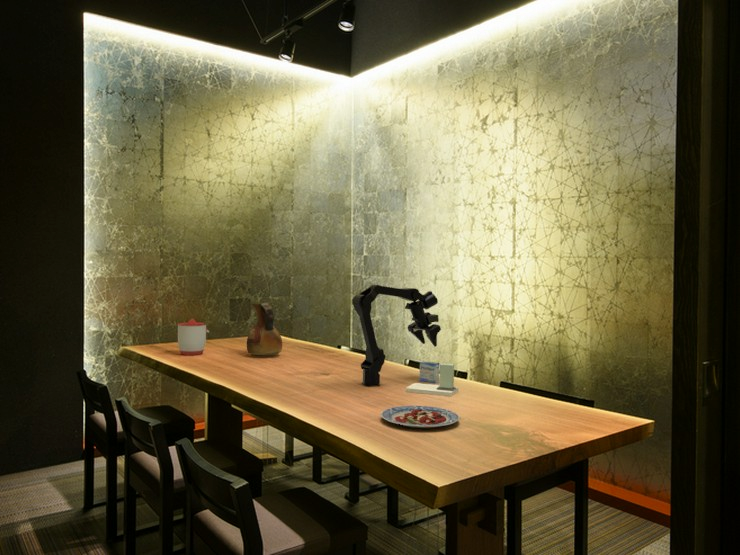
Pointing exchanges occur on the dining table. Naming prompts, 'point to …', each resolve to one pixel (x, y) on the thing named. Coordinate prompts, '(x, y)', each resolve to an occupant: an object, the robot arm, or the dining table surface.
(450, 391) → the ticket base
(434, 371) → the medicine box
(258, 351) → the ceramic pitcher
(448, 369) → the grey green upright block
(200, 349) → the citrus juicer
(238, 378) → the dining table surface
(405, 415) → the ceramic plate
